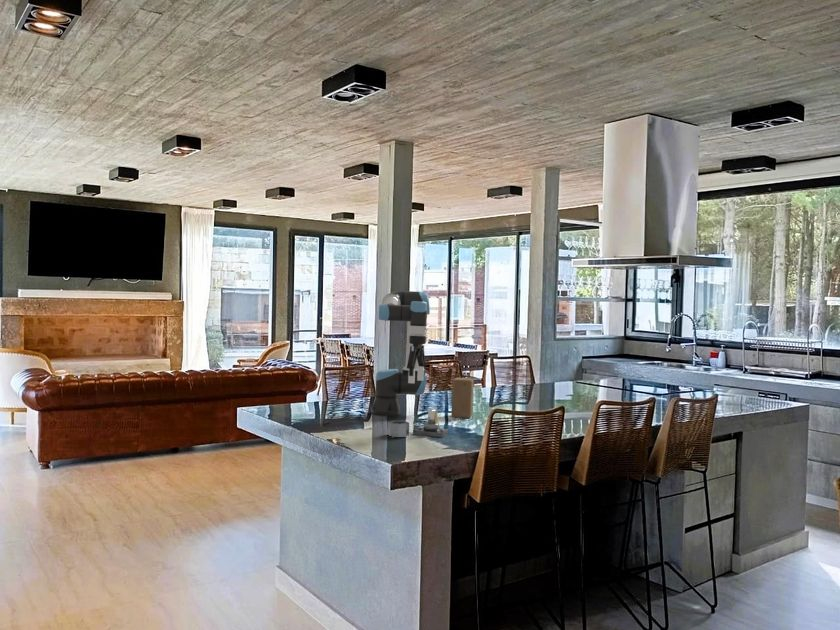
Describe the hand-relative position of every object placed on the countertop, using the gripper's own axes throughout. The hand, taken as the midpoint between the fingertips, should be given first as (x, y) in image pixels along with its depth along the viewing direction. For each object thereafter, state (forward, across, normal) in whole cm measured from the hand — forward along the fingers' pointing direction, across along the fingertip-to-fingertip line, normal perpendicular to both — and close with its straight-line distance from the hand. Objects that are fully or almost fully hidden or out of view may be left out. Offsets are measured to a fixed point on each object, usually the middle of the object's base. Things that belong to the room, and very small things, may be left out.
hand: (415, 381), depth 322 cm
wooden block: (+23, +55, -9) cm, 61 cm away
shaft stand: (+23, +1, -8) cm, 25 cm away
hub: (+23, -10, +4) cm, 26 cm away
